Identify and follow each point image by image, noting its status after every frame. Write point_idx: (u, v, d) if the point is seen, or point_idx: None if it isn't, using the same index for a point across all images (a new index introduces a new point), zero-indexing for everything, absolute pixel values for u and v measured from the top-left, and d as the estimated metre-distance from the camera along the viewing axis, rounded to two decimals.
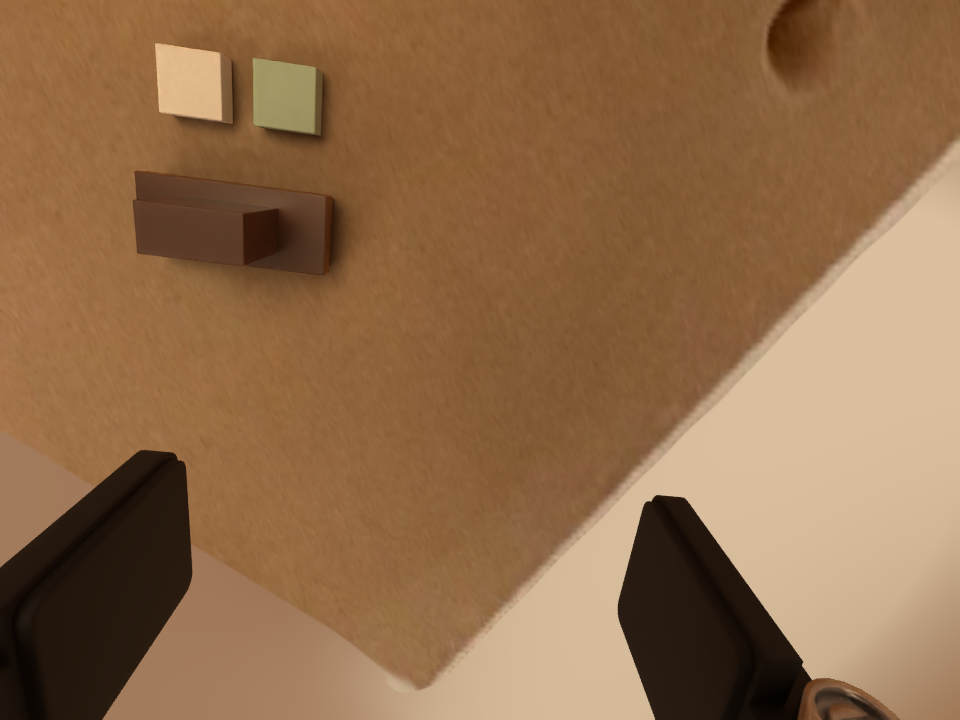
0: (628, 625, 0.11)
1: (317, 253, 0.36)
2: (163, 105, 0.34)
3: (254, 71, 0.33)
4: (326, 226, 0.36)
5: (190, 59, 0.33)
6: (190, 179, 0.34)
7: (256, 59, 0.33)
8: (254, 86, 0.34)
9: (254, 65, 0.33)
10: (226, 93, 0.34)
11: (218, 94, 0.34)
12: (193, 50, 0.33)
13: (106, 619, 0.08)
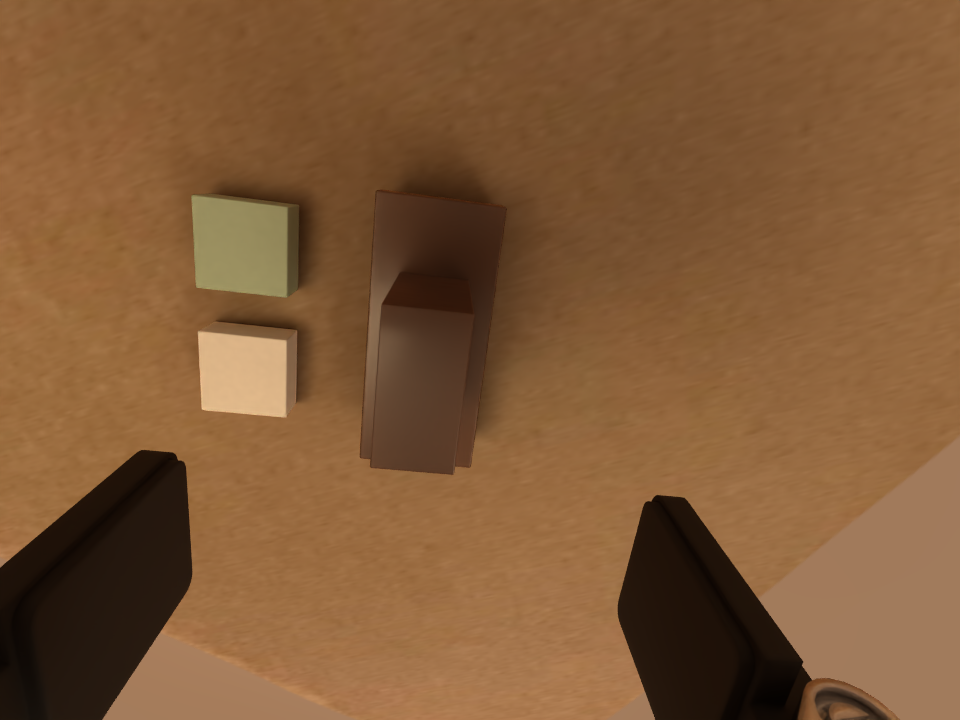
0: (628, 625, 0.11)
1: (469, 215, 0.22)
2: (276, 411, 0.25)
3: (213, 287, 0.23)
4: None
5: (213, 370, 0.24)
6: (365, 391, 0.24)
7: (196, 282, 0.23)
8: (233, 289, 0.23)
9: (205, 286, 0.23)
10: (253, 331, 0.25)
11: (252, 340, 0.24)
12: (201, 364, 0.24)
13: (106, 619, 0.08)
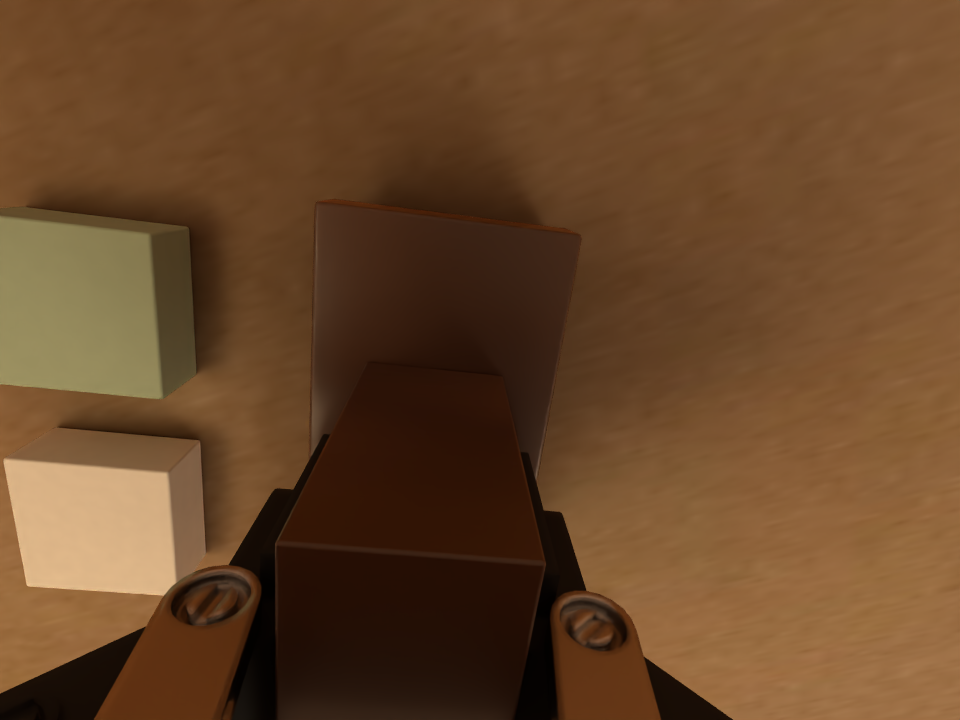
0: None
1: (507, 250, 0.11)
2: (160, 587, 0.14)
3: (21, 383, 0.12)
4: (418, 213, 0.11)
5: (39, 523, 0.14)
6: None
7: None
8: (61, 387, 0.12)
9: (6, 381, 0.12)
10: (115, 450, 0.14)
11: (104, 473, 0.13)
12: (16, 514, 0.13)
13: None
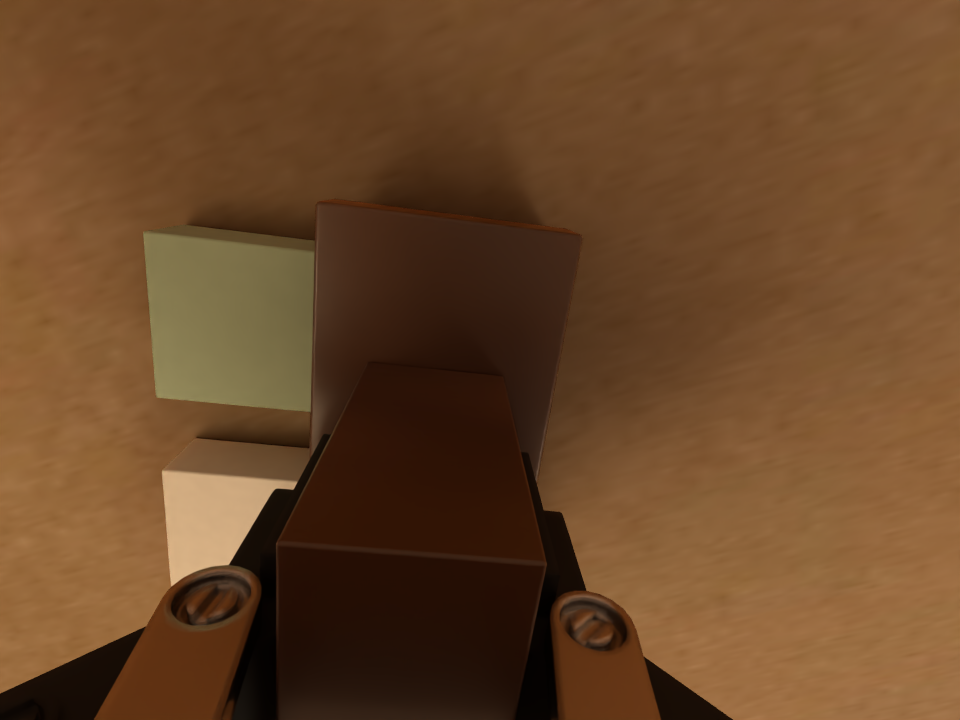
0: None
1: (508, 250, 0.11)
2: None
3: (188, 397, 0.13)
4: (419, 213, 0.11)
5: (190, 532, 0.14)
6: None
7: (156, 389, 0.13)
8: (225, 401, 0.13)
9: (173, 395, 0.13)
10: (261, 461, 0.14)
11: (258, 484, 0.14)
12: (169, 524, 0.14)
13: None
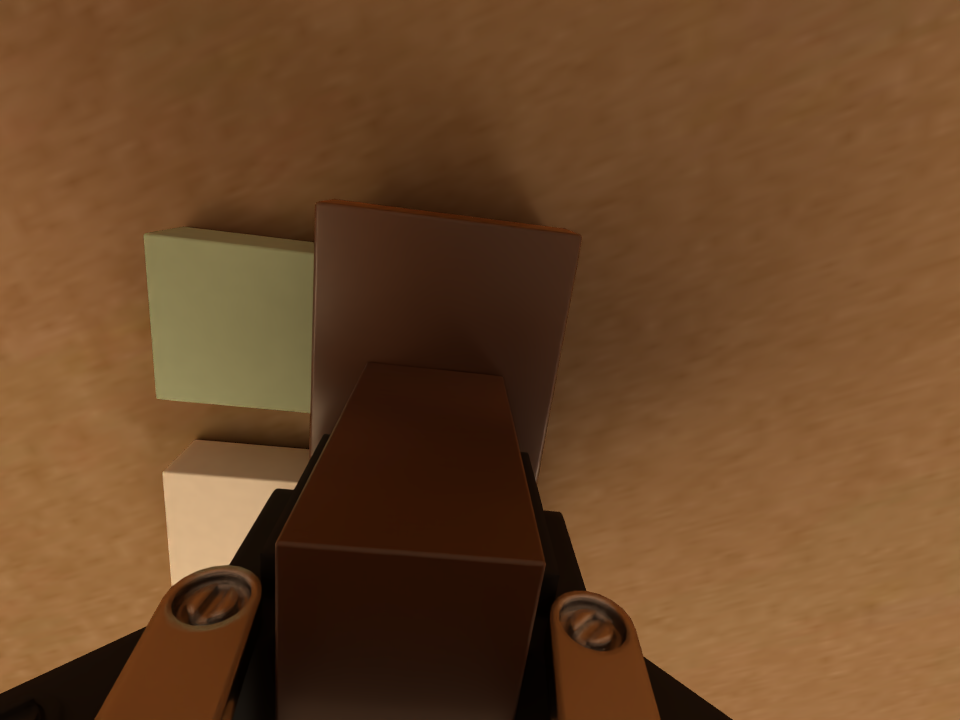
0: None
1: (507, 250, 0.11)
2: None
3: (188, 398, 0.13)
4: (418, 213, 0.11)
5: (190, 533, 0.14)
6: None
7: (157, 390, 0.13)
8: (225, 402, 0.13)
9: (173, 397, 0.13)
10: (261, 462, 0.14)
11: (258, 485, 0.14)
12: (169, 525, 0.14)
13: None
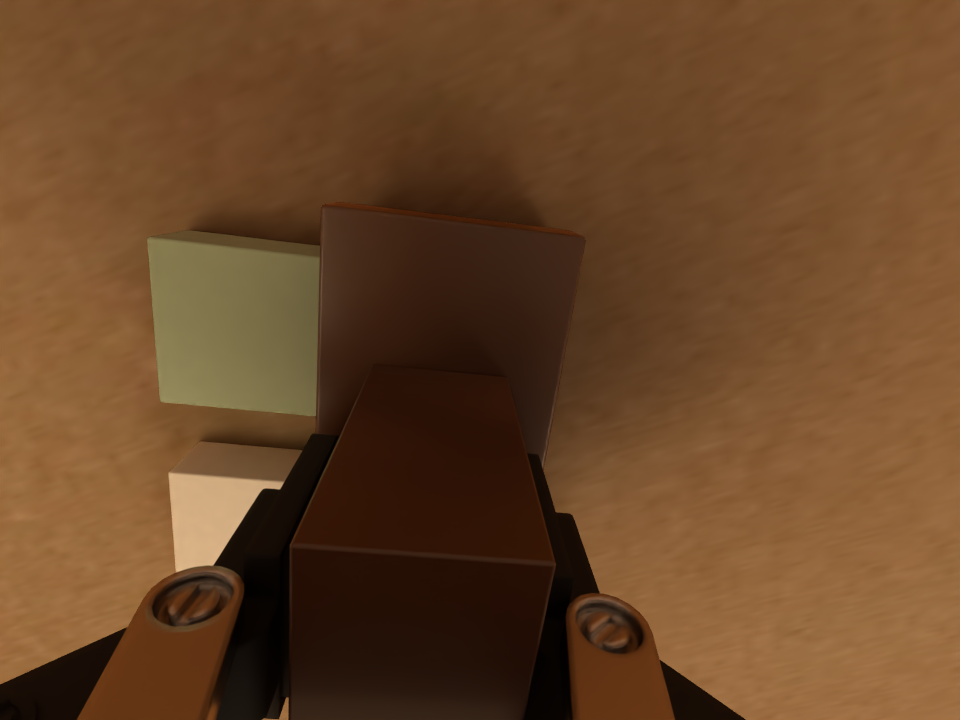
0: None
1: (512, 253, 0.11)
2: None
3: (191, 401, 0.13)
4: (423, 216, 0.11)
5: (196, 533, 0.14)
6: None
7: (160, 393, 0.13)
8: (228, 405, 0.13)
9: (177, 400, 0.13)
10: (266, 463, 0.14)
11: (263, 486, 0.14)
12: (175, 525, 0.14)
13: None
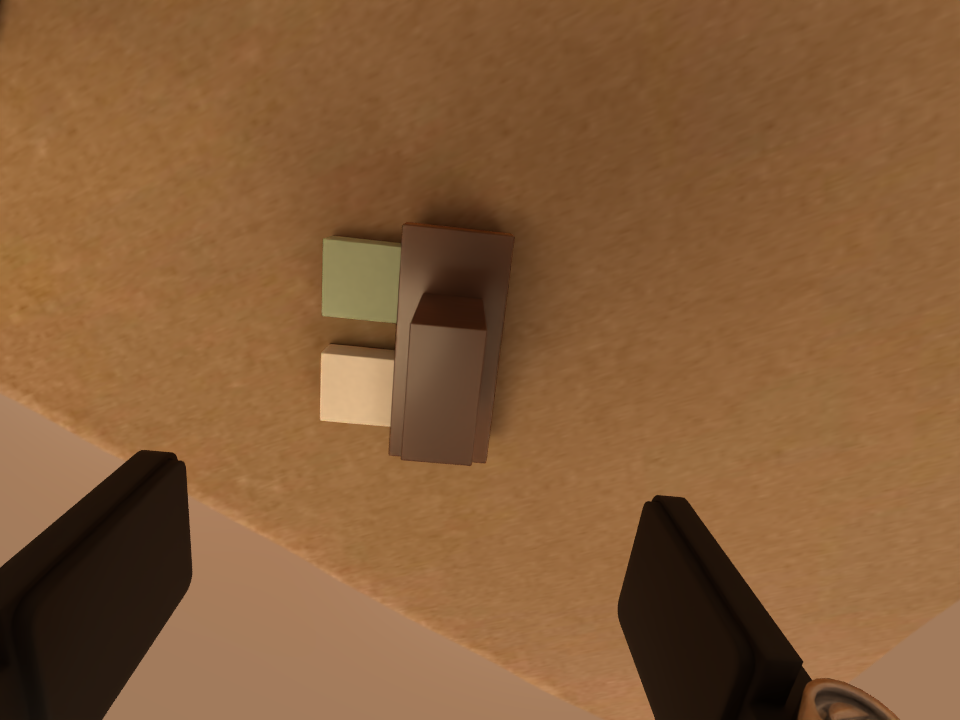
0: (628, 625, 0.11)
1: (482, 243, 0.25)
2: (383, 421, 0.29)
3: (336, 315, 0.27)
4: (445, 228, 0.25)
5: (332, 386, 0.28)
6: (393, 396, 0.27)
7: (322, 311, 0.27)
8: (353, 317, 0.27)
9: (329, 314, 0.27)
10: (365, 352, 0.29)
11: (366, 360, 0.28)
12: (322, 381, 0.28)
13: (106, 619, 0.08)
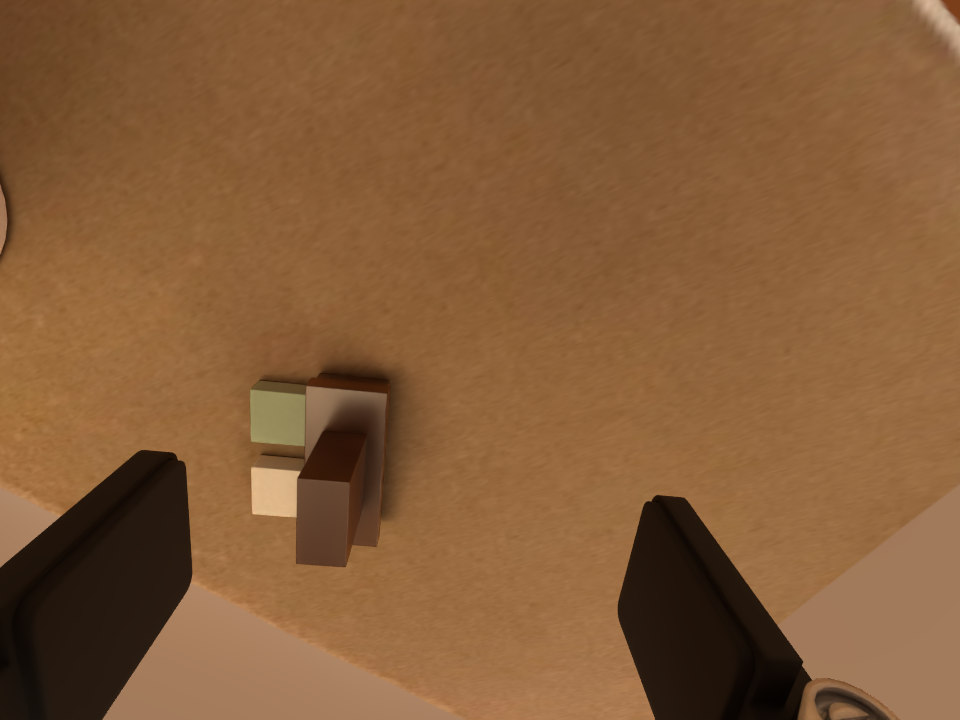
0: (628, 625, 0.11)
1: (364, 397, 0.35)
2: None
3: (261, 441, 0.37)
4: (337, 386, 0.35)
5: (260, 490, 0.38)
6: None
7: (251, 438, 0.37)
8: (274, 442, 0.37)
9: (256, 440, 0.37)
10: (286, 464, 0.38)
11: (285, 472, 0.38)
12: (252, 486, 0.38)
13: (106, 619, 0.08)
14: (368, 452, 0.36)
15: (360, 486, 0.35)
